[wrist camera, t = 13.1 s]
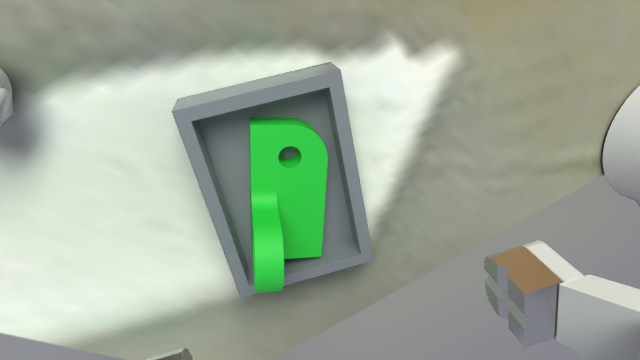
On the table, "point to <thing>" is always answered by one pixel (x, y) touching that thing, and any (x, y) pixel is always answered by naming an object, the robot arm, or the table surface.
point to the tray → (234, 157)
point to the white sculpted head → (5, 97)
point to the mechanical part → (285, 197)
